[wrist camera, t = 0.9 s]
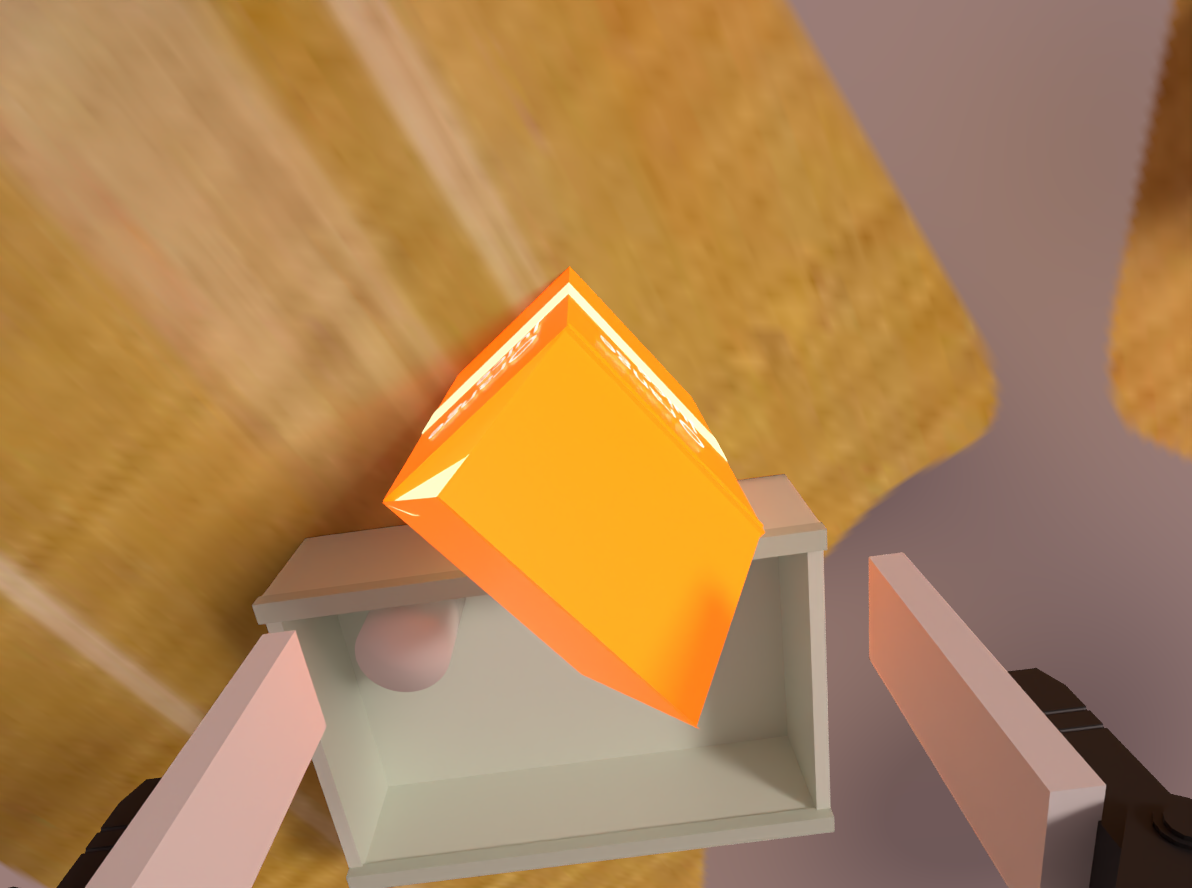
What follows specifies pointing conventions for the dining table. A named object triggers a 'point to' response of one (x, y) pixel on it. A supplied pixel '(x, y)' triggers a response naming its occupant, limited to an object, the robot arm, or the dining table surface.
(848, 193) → the dining table surface
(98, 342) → the dining table surface
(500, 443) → the orange juice
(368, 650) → the pink rounded egg
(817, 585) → the tote
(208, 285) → the dining table surface
